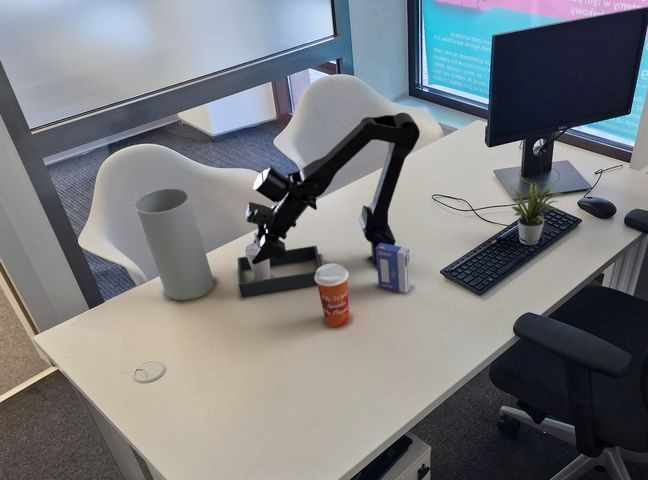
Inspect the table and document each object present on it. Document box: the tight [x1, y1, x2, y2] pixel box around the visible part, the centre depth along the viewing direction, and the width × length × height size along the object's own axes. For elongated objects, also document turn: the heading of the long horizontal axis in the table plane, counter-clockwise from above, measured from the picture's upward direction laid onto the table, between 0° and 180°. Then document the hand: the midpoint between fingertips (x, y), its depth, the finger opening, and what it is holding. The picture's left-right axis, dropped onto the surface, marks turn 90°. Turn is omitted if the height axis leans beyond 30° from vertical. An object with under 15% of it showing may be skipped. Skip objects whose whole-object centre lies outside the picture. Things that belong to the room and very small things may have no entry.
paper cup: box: [314, 263, 350, 328], centre depth 144 cm, size 8×8×14 cm
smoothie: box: [243, 232, 272, 281], centre depth 158 cm, size 6×6×14 cm
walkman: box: [376, 243, 412, 294], centre depth 153 cm, size 8×3×12 cm, turn 66°
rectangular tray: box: [237, 245, 326, 299], centre depth 162 cm, size 22×13×4 cm, turn 103°
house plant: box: [510, 182, 562, 246], centre depth 166 cm, size 14×14×16 cm
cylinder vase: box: [133, 187, 215, 301], centre depth 153 cm, size 12×12×25 cm
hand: (252, 256), depth 157 cm, fingers closed on smoothie, 6 cm apart
